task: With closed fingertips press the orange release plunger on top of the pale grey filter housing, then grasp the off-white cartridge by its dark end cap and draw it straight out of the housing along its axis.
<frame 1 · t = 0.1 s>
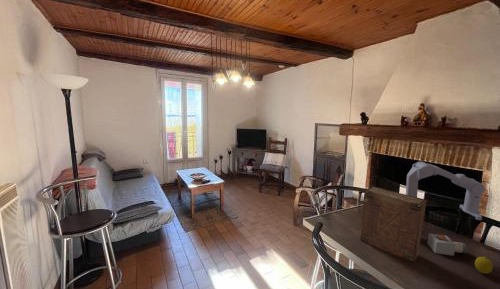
hand: (467, 226, 121), 10 cm above the table, fingers open, 7 cm apart
housing: (440, 249, 117), on the table
book: (387, 247, 119), on the table
cartridge: (449, 246, 115), point 3 cm above the table, slide at 0.0 cm
lemon: (481, 273, 100), on the table
plunger: (441, 237, 115), point 7 cm above the table, slide at 0.0 cm
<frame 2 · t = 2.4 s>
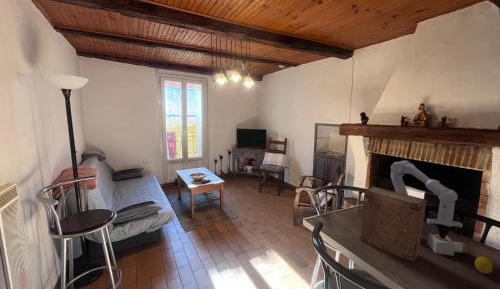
hand: (441, 237, 115), 7 cm above the table, fingers closed, pressing on plunger
plunger: (441, 238, 116), point 6 cm above the table, slide at 0.8 cm, touching gripper
everything else where it was.
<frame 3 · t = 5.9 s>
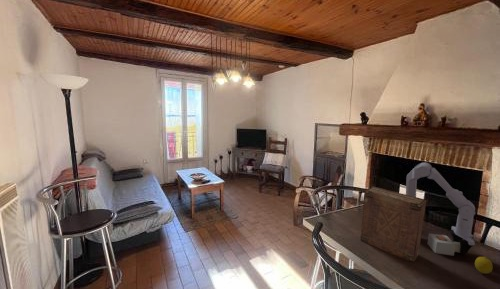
hand: (459, 249, 114), 1 cm above the table, fingers closed on cartridge, 5 cm apart
cartridge: (449, 246, 115), point 3 cm above the table, slide at 0.0 cm, touching gripper
plunger: (441, 238, 116), point 6 cm above the table, slide at 0.8 cm
everything else where it was.
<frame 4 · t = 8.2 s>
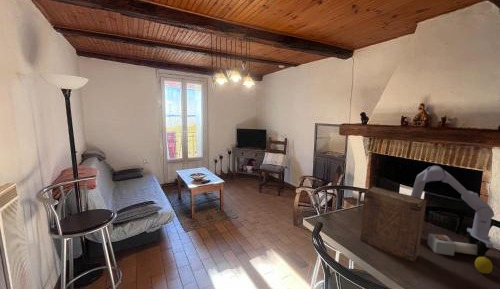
hand: (476, 252, 112), 1 cm above the table, fingers closed on cartridge, 5 cm apart
cartridge: (465, 248, 113), point 3 cm above the table, slide at 6.8 cm, touching gripper
everything else where it was.
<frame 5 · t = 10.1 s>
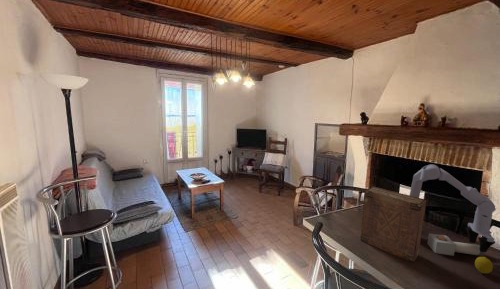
hand: (477, 246, 112), 4 cm above the table, fingers open, 7 cm apart
cartridge: (465, 248, 113), point 3 cm above the table, slide at 6.9 cm
everything else where it was.
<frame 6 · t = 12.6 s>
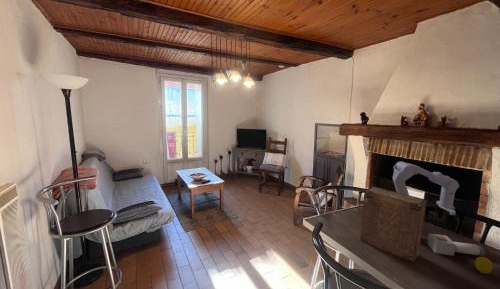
hand: (443, 221, 126), 10 cm above the table, fingers open, 7 cm apart
nothing on the table moved.
at the end: cartridge slide at 6.9 cm; plunger slide at 0.8 cm; the gripper is holding nothing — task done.
